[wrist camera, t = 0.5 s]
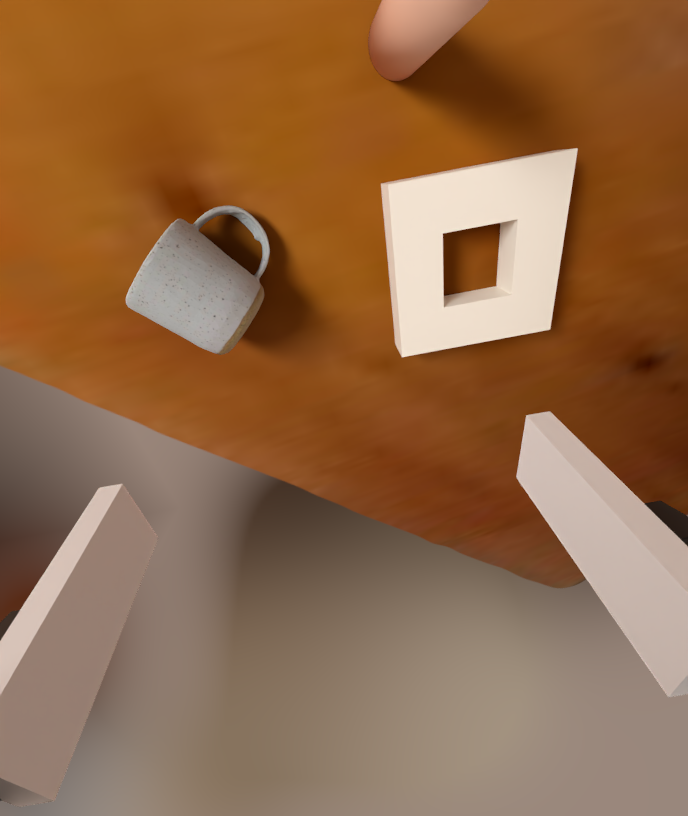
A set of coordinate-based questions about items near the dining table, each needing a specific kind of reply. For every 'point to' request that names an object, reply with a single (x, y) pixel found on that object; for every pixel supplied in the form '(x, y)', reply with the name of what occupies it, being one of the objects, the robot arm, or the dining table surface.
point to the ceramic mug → (200, 284)
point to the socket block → (517, 260)
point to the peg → (414, 32)
